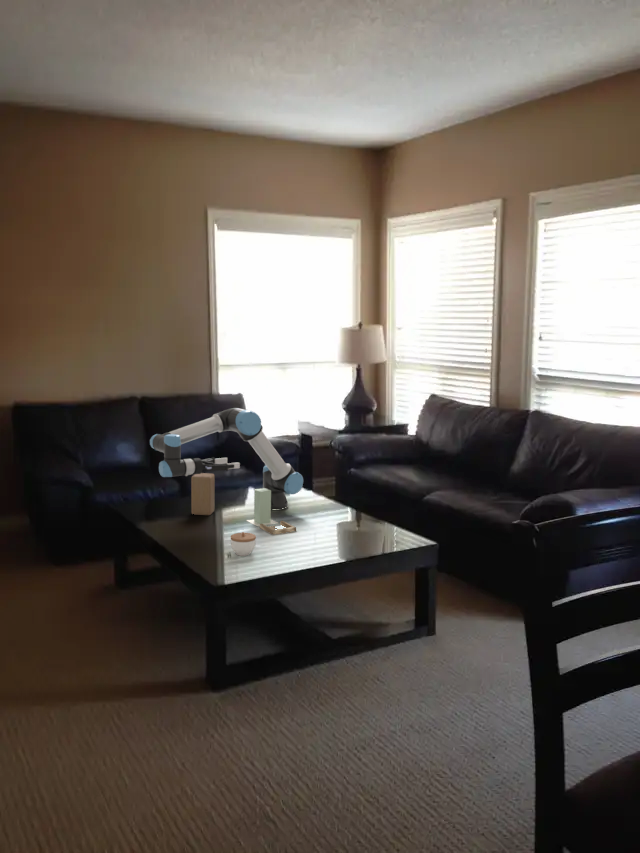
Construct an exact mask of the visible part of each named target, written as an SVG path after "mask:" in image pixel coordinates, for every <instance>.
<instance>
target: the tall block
mask: <svg viewBox="0 0 640 853" xmlns="http://www.w3.org/2000/svg"><path fill="white" fill-rule="evenodd" d="M253 494H254V496H253V498H254V501H253V504H254V505H253V506H254V507H253V512H254V513H253V519H254V521H255V522H257V523H259V524H263V523H270V522H271V519H272V510H271V490H268V489H266V488H263V487H262V488H256V489H254V493H253Z"/></svg>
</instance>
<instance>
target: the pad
mask: <svg viewBox="0 0 640 853" xmlns="http://www.w3.org/2000/svg"><path fill="white" fill-rule="evenodd" d="M245 522H249V523H250V524H252V525H254V526H256V527H260V524H259V523H257V522H255V521H254V518H253V519H246V520H245ZM263 524H264V525H266V526H269V525H270V526H271V525H278V524H279V522H278V521H275V520H273V519H272V518H271V522H270V523H263Z"/></svg>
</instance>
